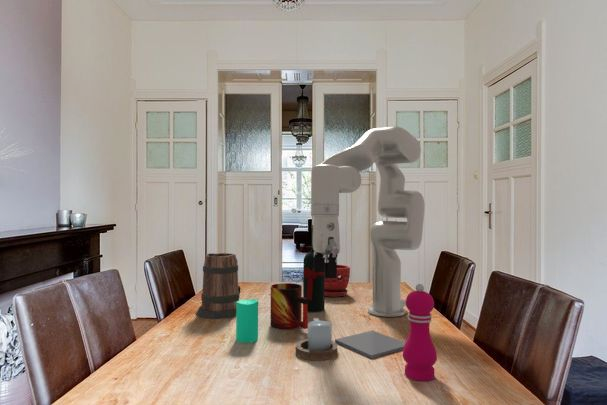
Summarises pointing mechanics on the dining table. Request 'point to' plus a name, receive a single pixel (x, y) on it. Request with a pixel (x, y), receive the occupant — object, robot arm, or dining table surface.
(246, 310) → the candle
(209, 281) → the tankard
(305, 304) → the mug
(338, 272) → the plant pot
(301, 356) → the stand
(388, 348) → the tile
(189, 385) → the dining table surface
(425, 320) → the pepper mill
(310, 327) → the jug
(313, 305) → the wine bottle
